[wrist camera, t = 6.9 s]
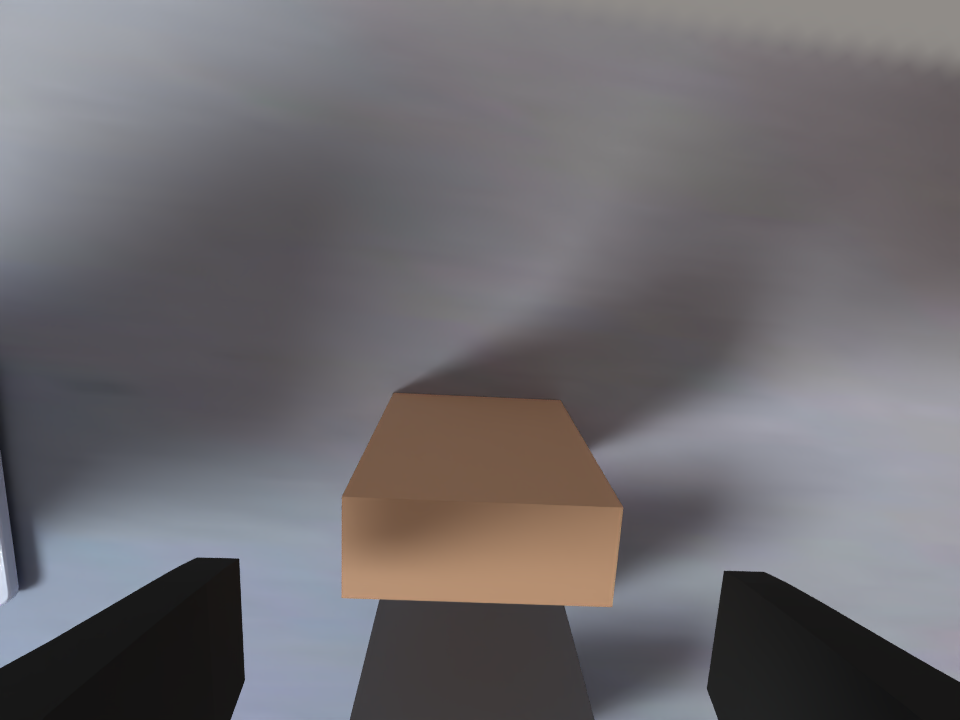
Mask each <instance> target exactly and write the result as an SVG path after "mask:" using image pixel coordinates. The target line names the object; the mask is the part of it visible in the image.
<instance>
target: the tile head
mask: <svg viewBox="0 0 960 720" xmlns="http://www.w3.org/2000/svg"><path fill="white" fill-rule="evenodd" d="M622 515H623V506H622V505H621V503H620V501H619V499H618V498H617V496H616V494H615V493H614V491H613V489H612V488H611V486H610V484H609V482H608V481H607V479H606V477H605V476H604V474H603V472H602V470H601V469H600V467H599V465H598V464H597V462H596V460H595V458H594V457H593V455H592V453H591V452H590V450H589V448H588V447H587V445H586V443H585V441H584V440H583V438H582V436H581V435H580V433H579V431H578V429H577V428H576V426H575V424H574V423H573V421H572V419H571V417H570V416H569V414H568V412H567V411H566V409H565V407H564V406H563V404H562V402H561V400H544V399H522V398H499V397H477V396H455V395H432V394H410V393H393V395H392V397H391V399H390V401H389V403H388V405H387V407H386V409H385V411H384V413H383V415H382V417H381V419H380V421H379V423H378V425H377V427H376V429H375V431H374V433H373V435H372V437H371V439H370V441H369V443H368V445H367V447H366V449H365V451H364V453H363V455H362V457H361V459H360V461H359V463H358V465H357V467H356V469H355V471H354V473H353V475H352V477H351V479H350V481H349V483H348V485H347V487H346V489H345V491H344V493H343V495H342V598H356V599H386V600H416V601H446V602H476V603H506V604H536V605H565V606H595V607H612V604H613V595H614V586H615V577H616V568H617V559H618V550H619V541H620V532H621V523H622Z"/></svg>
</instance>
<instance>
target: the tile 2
mask: <svg viewBox="0 0 960 720" xmlns="http://www.w3.org/2000/svg"><path fill="white" fill-rule="evenodd" d="M350 720H594V716H593V713H592V709H591V705H590V701H589V698H588V694H587V690H586V686H585V683H584V679H583V675H582V671H581V667H580V664H579V660H578V656H577V652H576V649H575V645H574V641H573V637H572V634H571V630H570V626H569V622H568V619H567V615H566V611H565V607H564V605H536V604H506V603H476V602H446V601H416V600H386V599H380V600H379V604H378V608H377V612H376V616H375V620H374V624H373V628H372V632H371V636H370V640H369V644H368V648H367V653H366V657H365V661H364V665H363V669H362V673H361V677H360V681H359V685H358V689H357V693H356V697H355V701H354V705H353V709H352V713H351V717H350Z"/></svg>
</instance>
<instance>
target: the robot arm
mask: <svg viewBox="0 0 960 720" xmlns="http://www.w3.org/2000/svg"><path fill="white" fill-rule="evenodd" d="M18 588H19V585H18V578H17V570H16V563H15V555H14V548H13V541H12V533H11V526H10V519H9V511H8V504H7V497H6V489H5V482H4V474H3V467H2V460H1V452H0V606H1V605H4V604H6V603H7V602H9V601H10V600H11V599H12V598H14V597H15V596H16V594H17V593H18ZM244 681H245V674H244V652H243V631H242V610H241V588H240V567H239V559H234V558H195V559H193V560H191V561H189V562H187V563H185V564H183V565H181V566H179V567H177V568H175V569H173V570H172V571H170V572H168V573H166V574H164V575H163V576H161V577H159V578H157V579H156V580H154V581H152V582H150V583H149V584H147V585H145V586H144V587H142V588H140V589H138V590H137V591H135V592H133V593H132V594H130V595H128V596H127V597H125V598H123V599H121V600H120V601H118V602H116V603H115V604H113V605H111V606H110V607H108V608H106V609H104V610H103V611H101V612H99V613H97V614H96V615H94V616H92V617H91V618H89V619H87V620H85V621H84V622H82V623H80V624H79V625H77V626H75V627H73V628H72V629H70V630H68V631H67V632H65V633H63V634H61V635H60V636H58V637H56V638H55V639H53V640H51V641H49V642H48V643H46V644H44V645H42V646H40V647H38V648H37V649H35V650H33V651H31V652H29V653H27V654H26V655H24V656H22V657H20V658H18V659H16V660H15V661H13V662H11V663H9V664H7V665H5V666H4V667H2V668H0V720H231V717H232V714H233V711H234V709H235V706H236V703H237V700H238V698H239V695H240V692H241V689H242V687H243V684H244ZM707 690H708V693H709V696H710V698H711V701H712V704H713V707H714V709H715V712H716V715H717V717H718V720H960V682H959V681H957V680H955V679H953V678H951V677H950V676H948V675H946V674H944V673H943V672H941V671H939V670H937V669H935V668H934V667H932V666H930V665H928V664H927V663H925V662H923V661H921V660H920V659H918V658H916V657H914V656H913V655H911V654H909V653H907V652H906V651H904V650H902V649H901V648H899V647H897V646H895V645H894V644H892V643H890V642H889V641H887V640H885V639H883V638H882V637H880V636H878V635H877V634H875V633H873V632H871V631H870V630H868V629H866V628H865V627H863V626H861V625H859V624H858V623H856V622H854V621H853V620H851V619H849V618H848V617H846V616H844V615H842V614H841V613H839V612H837V611H836V610H834V609H832V608H830V607H829V606H827V605H825V604H824V603H822V602H820V601H818V600H817V599H815V598H813V597H811V596H810V595H808V594H806V593H804V592H802V591H801V590H799V589H797V588H795V587H793V586H791V585H790V584H788V583H786V582H784V581H782V580H780V579H778V578H776V577H774V576H772V575H770V574H767V573H765V572H746V571H724V574H723V581H722V588H721V595H720V602H719V609H718V616H717V623H716V629H715V636H714V643H713V650H712V657H711V664H710V671H709V678H708V685H707Z"/></svg>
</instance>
